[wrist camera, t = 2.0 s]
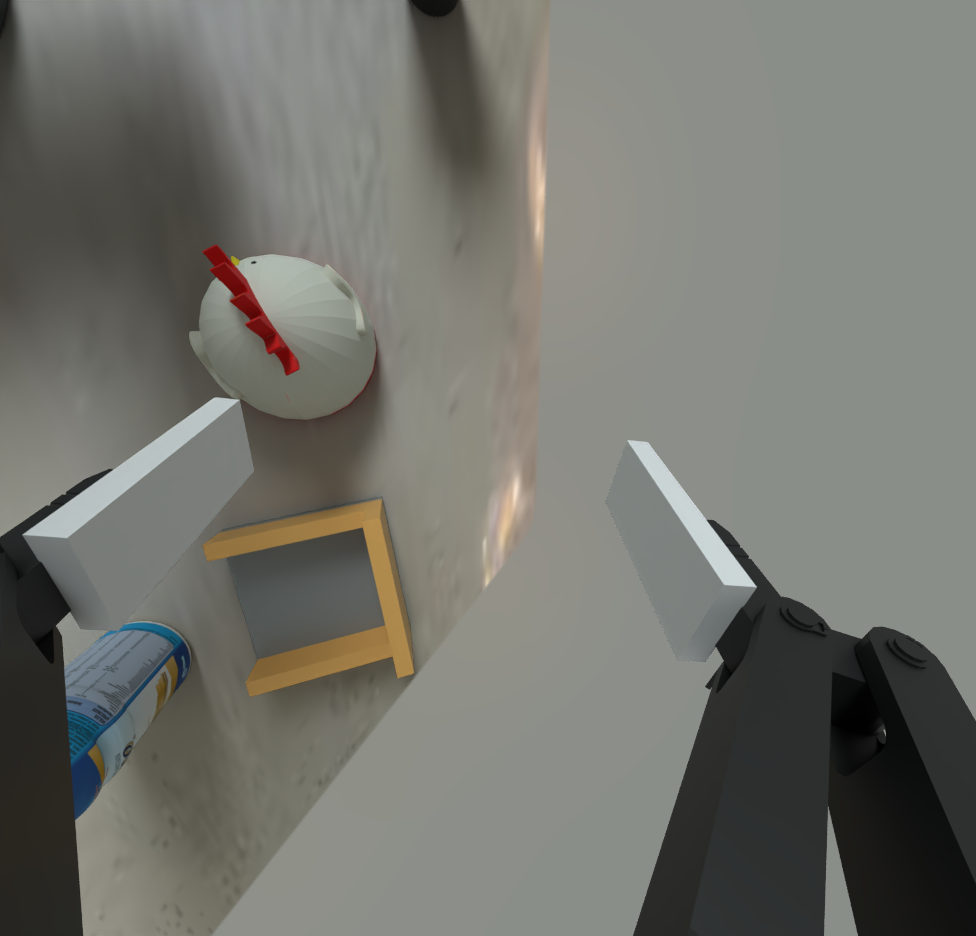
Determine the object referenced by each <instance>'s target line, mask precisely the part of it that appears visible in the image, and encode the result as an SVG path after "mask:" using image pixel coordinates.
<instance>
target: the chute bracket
mask: <svg viewBox="0 0 976 936" xmlns="http://www.w3.org/2000/svg"><path fill="white" fill-rule="evenodd" d="M202 546H203V549H204V552H205V555H206V558H207V562H208V561H212V560H217V559H221V558H226V557H227V560H228V563H229V567H230V570H231V573H232V577H233V580H234V583H235V587H236V590H237V593H238V596H239V600H240V603H241V606H242V610H243V613H244V616H245V620H246V623H247V626H248V629H249V633H250V636H251V639H252V643H253V646H254V649H255V652H256V656H257V659H258V660H257V662H256V664H255V666H254V668H253V670H252V671H251V673H250V675H249V677H248V679H247V681H246V686H247V689H248V692H249V696H250V697H252V696H255V695H259V694H262V693H266V692H269V691H273V690H276V689H280V688H283V687H287V686H291V685H294V684H298V683H301V682H305V681H308V680H312V679H315V678H319V677H322V676H326V675H329V674H333V673H336V672H340V671H343V670H347V669H350V668H354V667H357V666H361V665H365V664H368V663H372V662H375V661H379V660H382V659H386V658H389V657H393V660H394V665H395V669H396V673H397V678H400V677H404V676H407V675H411V674H414V665H413V653H412V641H411V628H410V623H409V618H408V614H407V609H406V604H405V600H404V595H403V591H402V586H401V582H400V577H399V572H398V568H397V563H396V559H395V554H394V549H393V545H392V540H391V536H390V531H389V526H388V522H387V517H386V513H385V508H384V503H383V499H382V497H378V498H373V499H368V500H363V501H359V502H354V503H349V504H344V505H339V506H334V507H330V508H325V509H320V510H315V511H310V512H305V513H300V514H296V515H291V516H286V517H281V518H276V519H271V520H267V521H262V522H257V523H252V524H247V525H242V526H238V527H233V528H228V529H223V530H222V531H221V532H219V533H218V534H217V535H215V536H214V537H213V538H211V539H210V540H209V541H207V542H206V543H205V544H203V545H202Z"/></svg>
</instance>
